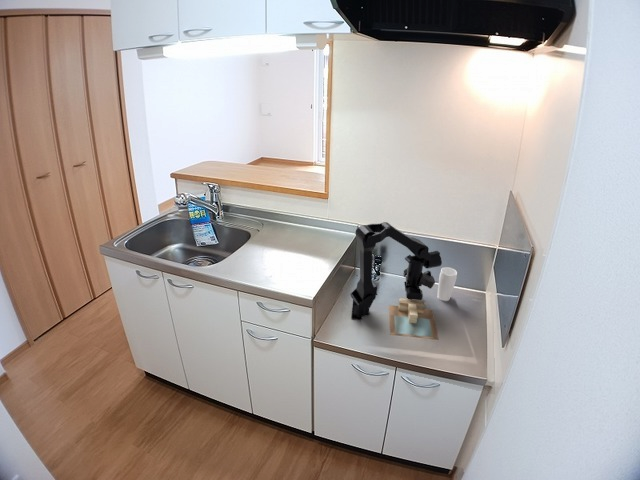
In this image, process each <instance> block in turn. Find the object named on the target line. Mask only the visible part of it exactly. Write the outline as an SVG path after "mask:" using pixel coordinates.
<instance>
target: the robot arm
mask: <svg viewBox="0 0 640 480" xmlns="http://www.w3.org/2000/svg"><path fill="white" fill-rule="evenodd" d="M354 234H355V237H356V238H355V239H356V242H357V245H358V249H359V280H358V282H357V283H356V288H355V289H354V290H353V291H351V293H350V294H349V295H350V297H351V299H352V306H351V307H352V308H351V317H350V318H351V319H352V320H363V317H364V316H369V315H370V308H371V307H372V304H373V302H374V300H376V298H377V297H376V296H378V286H377V284H376V283H375V282H374V281H373V251H374V249H375V248H376V246H377V244H378V243H381V242H382V241H384V240H385V239H386V238H391V239H393V240H394V241H395V242H397V243H399V244H401V245H402V246H404V247H405V248H406V249H408V250H409V251H410V252H411V253H412V254H413V255H411V254H409V255H407V256H405V257H404V260H405V261H406V262H407V263H408V264H407V265H408V266H407V268H406V269H405V268H404V270H403V274H402V275H403V278H405V281H404V282H403V283H404V284H403V285H404V291H405V296H406V298H405V299H411V300H421V301H423V297H424V294H423V290H422V289H421V287H422V286H424V287H426V288H428V289H432V288H433V287H434V285H435V283H436V281H435V277H434V276H433V275H432V272H431V271H430V270H426V271H424V272H423V268H425V269H431V268H438V267H441V266H442V264H443V262H442V257H441V252H440V251H438V250H434V251H430V252H429V249H430V248H429V247H428V245H426V244H425V243H424V242H423V241H422V240H421V239H419V238H416V237H411V236H408V235H407V234H405V233H404V232H402V231H401V230H399V229H397V228H396V227H395V226H392V225H391V224H390V223H389V222H386V221H383V222H380V223H368V224H363V225H360V226H358V227H357V228H356V229H355V233H354Z"/></svg>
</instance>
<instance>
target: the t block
mask: <svg viewBox="0 0 640 480" xmlns="http://www.w3.org/2000/svg"><path fill="white" fill-rule="evenodd" d="M397 306H398V308H399V311H407V313H408V322H409V323H416V322H417V317H418V314H417V312H418V313H423V312H424V309H425V306H426V305H425V300H414V299H412V300H411V299H407V298H401V297H400V298H399V300H398V305H397Z"/></svg>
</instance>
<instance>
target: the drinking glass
mask: <svg viewBox="0 0 640 480" xmlns="http://www.w3.org/2000/svg"><path fill="white" fill-rule="evenodd" d="M457 276H458V271H457V270H456V269H455V268H453V267H447V266H444V267H441V269H440V273H439V276H438V285H437V294H436V296H437V299H438V300H440V301H442V302H448V301H450V299H451V296H452V294H453V289H454V287H455V284H456V281H457Z"/></svg>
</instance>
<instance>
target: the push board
mask: <svg viewBox="0 0 640 480" xmlns="http://www.w3.org/2000/svg"><path fill="white" fill-rule="evenodd" d="M388 314H389V315H388V316H389V318H388V319H389V320H388V321H389V335H392V336H400V337H410V338H411V337H412V338H419V339H429V340H438V341H439V340H440V339H439V338H440V337H439V334H438V330H437V324H436V320H435V316H434V310H433V309H431V308H424V312H423V313H418V312H417V314H418V317H417V322H416V323H409V322H408V313H407V311H399V308H398V305H391V304H388Z"/></svg>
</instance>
